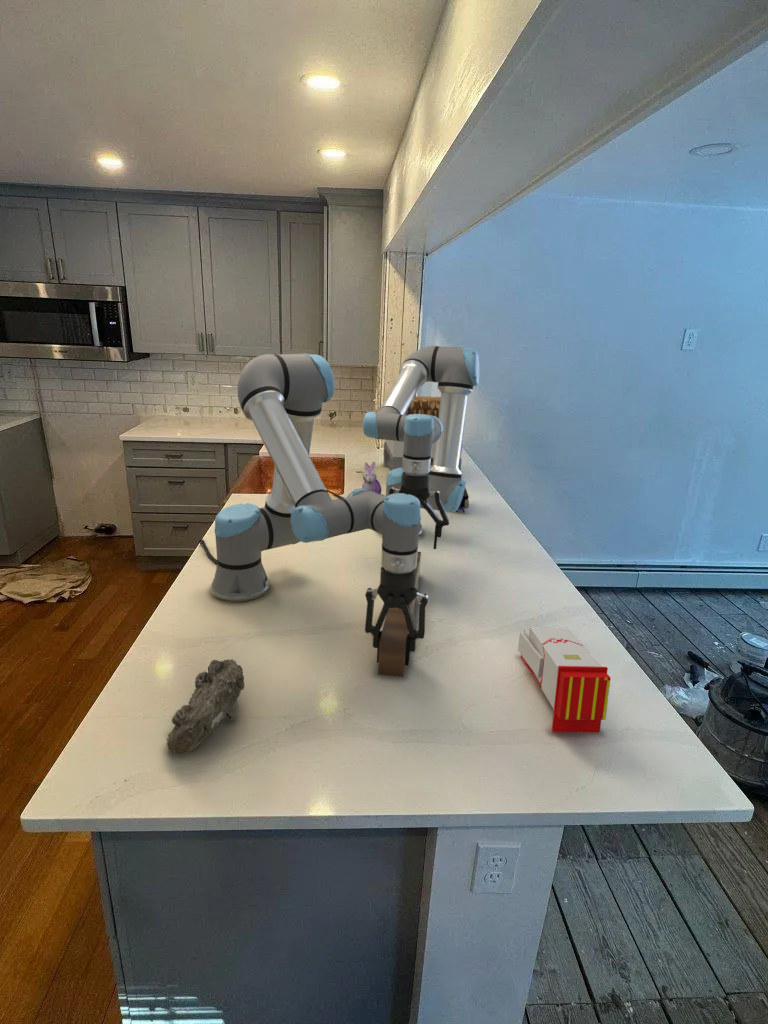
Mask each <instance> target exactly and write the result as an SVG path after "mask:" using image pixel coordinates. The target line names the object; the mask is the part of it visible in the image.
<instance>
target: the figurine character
mask: <svg viewBox="0 0 768 1024" xmlns="http://www.w3.org/2000/svg"><path fill="white" fill-rule="evenodd" d="M469 498H470V496H469V494H468V491H467V488H466V487H465V490H464V494H463V498H462V501H461V503H460V506H459V508H458V509H457V510H456V511H455V512H456V513H458V510H461V511H462V513H465V509H469V506H470V500H469Z"/></svg>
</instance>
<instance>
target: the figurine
mask: <svg viewBox="0 0 768 1024" xmlns="http://www.w3.org/2000/svg"><path fill="white" fill-rule="evenodd" d="M375 468H376V461H372V463H371V464H370V465H369V464H368V462H367V461H366V462H364V472H363V474H362V479H363V483H362V485H361V488H363V489H367V490H371V491H374V492H376V493H377V494H380V495H382V486H381V483H380V481H379V480H378V479H377V474H376V471H375Z"/></svg>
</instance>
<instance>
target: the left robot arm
mask: <svg viewBox="0 0 768 1024" xmlns="http://www.w3.org/2000/svg"><path fill="white" fill-rule="evenodd" d="M334 394H335V377H334V373H333V370H332V368H331V366H330V363H329V362H328V361H327V360H326V358H325V357H323V356H321V355H319V354H314V353H307V352H304V353H281V354H280V353H279V354H272V353H266V354H262V355H258V356H256V357H255V358H252V359H251V360H250V361H249V362H248V363H246V365H245V366H244V367H243V369H242V371H241V373H240V375H239V378H238V382H237V399H238V403H239V406H240V409H241V411H242V412H243V415H244V417H245V418H246V419H247V420H250V421H252V423H253V424H254V426H255V429H256V430H257V431H256V432H257V433H258V434H259V437H260V439H261V441H262V443H263V445H264V447H265V449H266V451H267V453H268V456H269V457H270V459H271V461H272V463H273V466H274V468H273V469H274V470H273V478H272V488H271V492H270V493H268V494H267V496H266V497H265V502H264V507H263V506H262V507H259V506H258V505H257V504H254V503H244V504H243V503H237V504H233V505H230V506H229V505H228V506H227V507H224V508H222V509H221V510H219V512H218V513H217V514H216V516H215V519H214V535H215V549H216V558H215V557H214V556H213V555H212V554H211V552H210V550H209V548H208V546H207V544H206V541H204V539H202V538H200V539H199V540H198V543H199V544H201V545H202V547H203V549H204V551H205V553H206V555H207V557H208V558H209V559H210V560H211V561H212V562H214V563H215V564H217V566H216V569H215V573H214V577H213V580H212V583H211V593H212V595H213V596H214V598H216V599H217V600H221V601H224V602H228V603H244V602H250V601H254V600H256V599H259V598H261V597H263V596H265V595H266V594H267V593H268V591H269V589H270V578H269V577H268V575H267V572H266V570H265V568H264V565H263V563H262V552H264V551H267V550H268V551H269V550H273V549H277V548H282V547H286V546H290V545H296V544H298V543H299V544H300V543H301V542H302V543H305V544H306V543H314V542H322V541H325V540H327V539H330V538H334V537H339V536H342V535H348V534H352V533H356V532H361V531H365V530H371V531H373V532H375V533H378V534H380V535H381V534H382V535H381V555H380V565H381V567H380V574H379V575H380V577H379V585H378V587H377V588H372V587H368V588H367V589H366V592H365V594H364V595H365V599H366V613H365V624H364V632H365V633H366V634H371V635H372V647H373V648H374V649H377V650H376V663H377V664H378V659H379V642H380V638H381V634H382V628H383V625H384V622H385V618H386V614H387V612H388V610H389V608H399V609H402V611H403V614H404V617H405V620H406V624H407V628H408V632H409V634H408V636H407V644H406V659H405V667H409V665H410V658H411V653H414V652H415V651H416V647H417V646H416V643H417V640H418V639H420V640H424V638H425V634H426V608H427V605H428V602H429V594H428V593H426V592H425V593H420V592H418V589H417V590H416V587H415V583H416V569H415V568H416V567H417V555H418V552H419V538H420V537H419V526H420V522H421V519H422V517H421V508H420V501H419V500H418V498H416V497H415V496H413V495H407V494H403V493H396V494H390V495H388V496H387V497H386V496H384V495H382V494H381V495H380V494H377V493H376V492H374V491H371V490H367V489H363V488H362V487H360V488H356V489H354V490H353V491H351V492H350V493H349V494H348V495H347V497H344V498H342V499H341V498H336V499H333V498H332V497H331V495H330V493H329V492H328V491H327V490H328V489H327V488H326V486H325V484H324V482H323V480H322V478H321V476H320V474H319V472H318V470H317V468H316V466H315V464H314V463H313V461H312V459H311V456H310V453H311V452H310V451H311V446H312V445H311V444H312V439H313V438H312V437H313V430H314V423H315V421H314V420H315V418H317V417H318V416H320V415H321V412H322V410H323V409H322V408H323V403H327V402H329V401H330V400H331V399H332V398H333V397H334ZM326 489H327V490H326ZM201 542H202V543H201ZM377 595H378V596H379V598H380V599H381V601H382V602H383V605H382V607H381V611H380V613H379V615H378V618H377V620H376V622H375V624H374V625H373V619H374V618H373V617H374V609H375V608H374V607H375V600H376V599H377ZM415 598H416V602H417V603H416V604H417V605H419V608H418V629H416V624H415V622H414V616H413V617H412V613H411V609H410V603H411V602H412V601H413V600H414V599H415Z"/></svg>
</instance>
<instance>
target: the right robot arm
mask: <svg viewBox="0 0 768 1024" xmlns="http://www.w3.org/2000/svg"><path fill="white" fill-rule="evenodd" d="M428 382H431V383H437V390H438V391H439V392H440V393H441V394H440V397H441V402H440V410H439V418H437V417H435V416H431V415H430V416H429V415H425V414H410V415H405V413H406V412H407V410H408V408H409V406H410V404H411V402H412V400H413V398H414V396H415V397H416V394H417V393H418V391H419V390H420V387H422V386H424V385H425V383H428ZM479 384H480V357H479V353H478V351H477V350H476V349H474V348H468V347H464V346H463V347H460V346H459V347H458V346H440V345H439V346H438V345H429V346H424V347H421V348H419V349H418V350H417V349H416V350H415V351H414V352H413V353H411V354H410V355H408V356H407V357H406V358H405V359H404V361H403V362H402V363H401V365H400V367H399V371H398V376H397V377H396V380H395V381H394V383H393V385H392V386H391V388H390V390H389V392H388V393H387V396H386V397H385V399H384V400H383V402H382V404H381V405H380V408H379V409H378V410H377V411H368V412H366V414H365V415H364V418H363V422H362V430H363V431H362V432H363V434H364V436H365V437H367V438H370V439H376V440H382V441H383V440H384V441H385V440H393V441H401V442H404V448H403V463H402V468H396V469H393V470H391V471H390V470H389V472H388V473H387V475H386V482H385V497H387V496H388V495H390V494H396V493H403V494H407V495H413V496H415V497H416V498H418V500H419V501H420V509H424V510H425V511H426V512H427V514H428V515H429V516H430V518H431V519H432V520H433V521H434V523H435V526H434V536H433V537H434V538H433V550H437V545H438V544H437V543H438V538H439V539H440V538H442V534H443V527H445V526H450V519H449V517H448V515H447V514H448V513H455V512H456V510H457V511H458V508H459V506H460V503H461V501H462V498H463V494H464V490H465V488H466V483H467V482H466V479H464V478H462V477H463V476H462V475H463V473H462V470H461V471H460V470H459V469H458V465H459V457H460V449H461V441H463V438H462V433H463V434H464V432H463V425H464V426H465V421H464V420H465V416H466V408H467V401H468V396H469V395H470V394H472V393H473V390H474V387H477V386H478V385H479ZM434 442H436V443H435V451H434V459H433V465H430V463H431V449H432V444H433V443H434ZM326 490H327V491H328V493H329V494H331V495H333V496H334V497H337V498H338V499H342V498H345V497H343V496H341V495H339V494H337V493H335V492H333V491H331V490H329V489H327V488H326ZM436 511H438V512H439V514H440V516H439V515H438V513H437V512H436ZM380 535H381V536H382V534H380ZM422 535H423V525H422V524H421V521H420V526H419V538H420V537H421V536H422Z"/></svg>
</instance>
